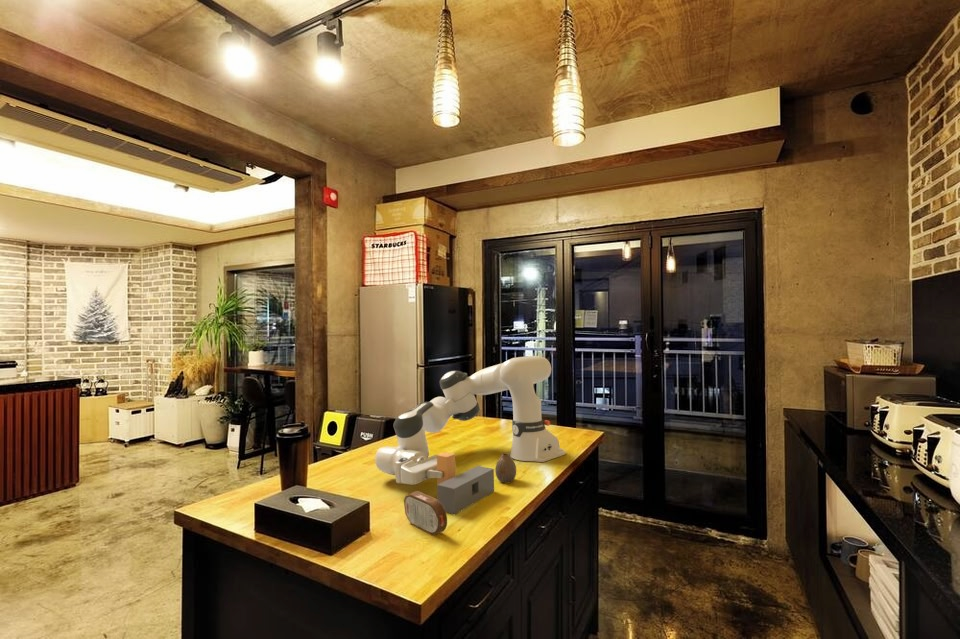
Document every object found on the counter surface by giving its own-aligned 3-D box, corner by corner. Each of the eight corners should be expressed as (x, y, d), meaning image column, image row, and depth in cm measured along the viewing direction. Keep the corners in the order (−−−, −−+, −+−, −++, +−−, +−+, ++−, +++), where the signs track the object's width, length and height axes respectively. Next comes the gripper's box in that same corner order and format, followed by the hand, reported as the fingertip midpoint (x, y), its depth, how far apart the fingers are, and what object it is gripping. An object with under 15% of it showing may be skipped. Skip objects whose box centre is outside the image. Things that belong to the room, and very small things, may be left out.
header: (494, 491, 139) (493, 468, 139) (454, 514, 122) (454, 488, 122) (478, 487, 142) (477, 465, 142) (437, 509, 126) (437, 484, 126)
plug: (469, 496, 134) (468, 456, 134) (461, 500, 131) (460, 459, 131) (445, 490, 139) (445, 452, 140) (437, 494, 136) (436, 455, 136)
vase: (518, 478, 150) (518, 452, 150) (513, 485, 144) (512, 458, 144) (499, 476, 152) (498, 450, 152) (492, 483, 146) (492, 456, 146)
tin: (448, 536, 110) (447, 501, 110) (438, 540, 108) (437, 505, 108) (412, 518, 121) (411, 486, 121) (402, 522, 118) (401, 490, 118)
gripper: (435, 466, 152) (468, 473, 145) (392, 484, 136) (426, 493, 128) (435, 447, 153) (468, 453, 145) (391, 463, 136) (426, 471, 128)
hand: (448, 472), depth 136 cm, fingers closed on plug, 4 cm apart
